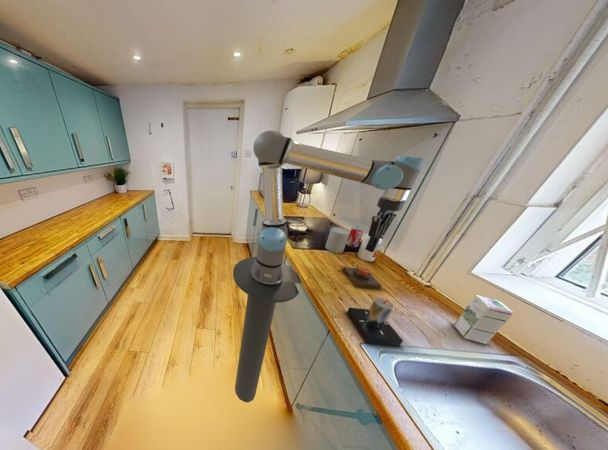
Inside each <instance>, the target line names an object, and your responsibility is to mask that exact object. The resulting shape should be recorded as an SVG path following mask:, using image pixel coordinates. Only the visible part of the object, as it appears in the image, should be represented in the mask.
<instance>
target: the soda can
mask: <svg viewBox="0 0 608 450" xmlns="http://www.w3.org/2000/svg"><path fill="white" fill-rule="evenodd" d="M349 232H350V234H349V237H348V240H347V242H346V245H347V246H348V247H351V248H358V247H359V244H360V242H361V239H362V237H363V234H364V228H362V227H360V226H352V227H351V228H350V230H349Z"/></svg>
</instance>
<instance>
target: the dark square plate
mask: <svg viewBox="0 0 608 450" xmlns="http://www.w3.org/2000/svg"><path fill="white" fill-rule="evenodd" d="M358 269H359V267H348V266H343V268H342V272H343V273H344V275H346V277H347V279H349V280H350V281H351V283H352V284H353V285H354V287H355V288H363V289H376V290H381V288H382V284H381V283H380V282H379V280H377V278H375V277H374V276H373V274H372V273H371V272H370V271H369V273H368V275H367V276H364V275H361V274H359V273H358V272H357V271H358Z"/></svg>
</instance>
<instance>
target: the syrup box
mask: <svg viewBox="0 0 608 450" xmlns="http://www.w3.org/2000/svg"><path fill="white" fill-rule="evenodd" d="M514 314H515V312H514V311H513V310H511V308H509V307H508V306H507V305H505V304H504V303H503V302H502V301H501V300H499V299H496V298H492V297H488V296H484V295H477V294H476V295H474V297H473V298H472V299H471V301H470V302H469V303H468V304H467V306H466V308H465V309H464V310H463V311H462V313H461V314H460V315H459V317H458V318H457V319H456V321H455V322H454V323H453V327H454V328H455V329H456V330H457V331H458V332H459V334H460V335H461V337H463V339H466V340H469V341H473V342H476V343H481V344H484V345H487V344H488V343H490V341H491V340H492V338H493V337H494V336H495V335H496V334H497V333H498V332H499V330H501V328H502V327H504V325H505V324H506V323H507V322H508V321H509V320H510V319H511V317H512V316H513V315H514Z"/></svg>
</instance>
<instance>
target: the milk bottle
mask: <svg viewBox="0 0 608 450" xmlns="http://www.w3.org/2000/svg"><path fill="white" fill-rule="evenodd" d="M368 234H369V232H368V233H366V234H365V236H364V237H363V240H362V242H361V244H360V247H359V249H358V252H357V257H358V258H359V259H360V260H363V261H365V262H374V261H375V259H376V257H377V255H378V252H379V250H380V248H381V245H382V242H383V239H381V238H380V239H379V241H378V244H377V246H376V248H375V250H374V252H370V251H368V250H365V248H366V246H367V244H368V241H369V239H370V236H368Z"/></svg>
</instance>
